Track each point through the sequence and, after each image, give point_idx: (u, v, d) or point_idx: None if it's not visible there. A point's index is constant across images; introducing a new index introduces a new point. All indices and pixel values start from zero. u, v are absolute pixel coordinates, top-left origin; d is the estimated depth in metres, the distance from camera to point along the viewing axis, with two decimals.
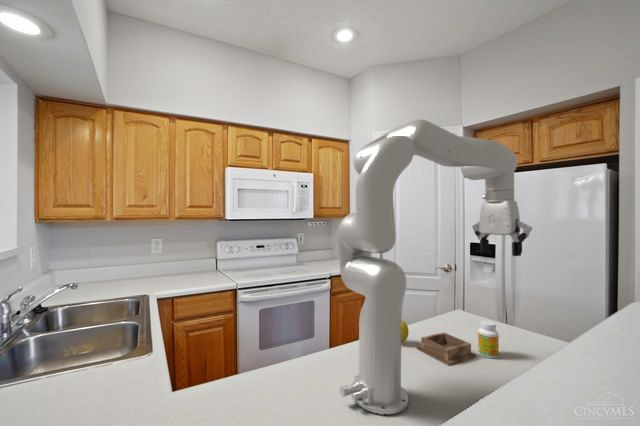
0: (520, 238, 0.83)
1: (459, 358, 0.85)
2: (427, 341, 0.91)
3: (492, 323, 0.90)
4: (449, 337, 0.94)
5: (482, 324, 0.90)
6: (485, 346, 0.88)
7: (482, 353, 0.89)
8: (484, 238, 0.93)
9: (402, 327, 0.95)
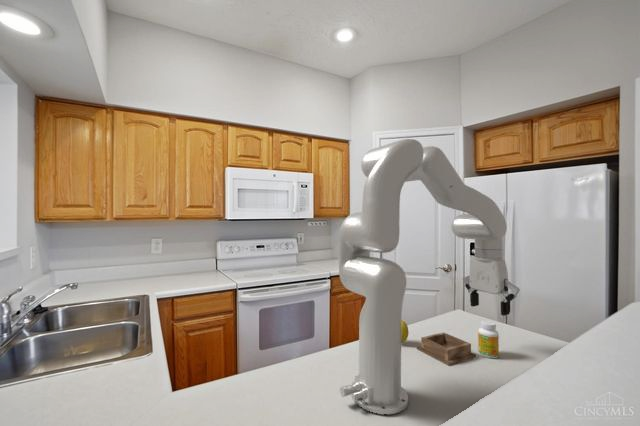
0: (508, 298, 0.85)
1: (459, 358, 0.85)
2: (427, 341, 0.91)
3: (492, 323, 0.90)
4: (449, 337, 0.94)
5: (482, 324, 0.90)
6: (485, 346, 0.88)
7: (482, 353, 0.89)
8: (474, 292, 0.95)
9: (402, 327, 0.95)
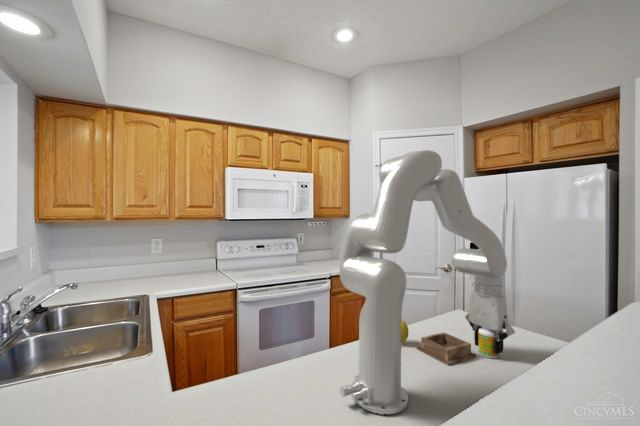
0: (501, 337, 0.86)
1: (459, 358, 0.85)
2: (427, 341, 0.91)
3: None
4: (449, 337, 0.94)
5: None
6: (485, 346, 0.88)
7: (482, 353, 0.89)
8: (478, 331, 0.93)
9: (402, 327, 0.95)
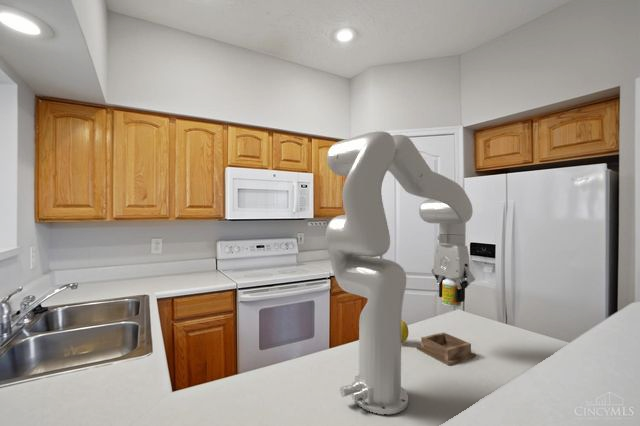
0: (462, 285, 0.86)
1: (459, 358, 0.85)
2: (427, 341, 0.91)
3: None
4: (449, 337, 0.94)
5: None
6: (447, 295, 0.89)
7: (445, 302, 0.90)
8: None
9: (402, 327, 0.95)
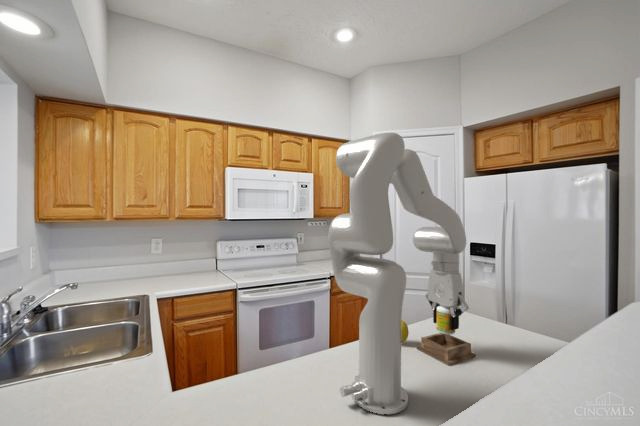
0: (456, 313, 0.87)
1: (459, 358, 0.85)
2: (427, 341, 0.91)
3: None
4: (449, 337, 0.94)
5: None
6: (441, 323, 0.89)
7: (439, 330, 0.90)
8: None
9: (402, 327, 0.95)
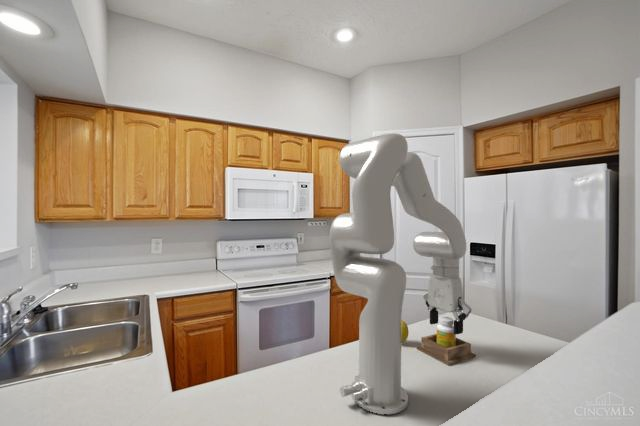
0: (460, 318, 0.85)
1: (459, 358, 0.85)
2: (427, 341, 0.91)
3: (450, 319, 0.90)
4: None
5: (440, 320, 0.90)
6: (442, 342, 0.89)
7: None
8: (433, 310, 0.95)
9: (402, 327, 0.95)
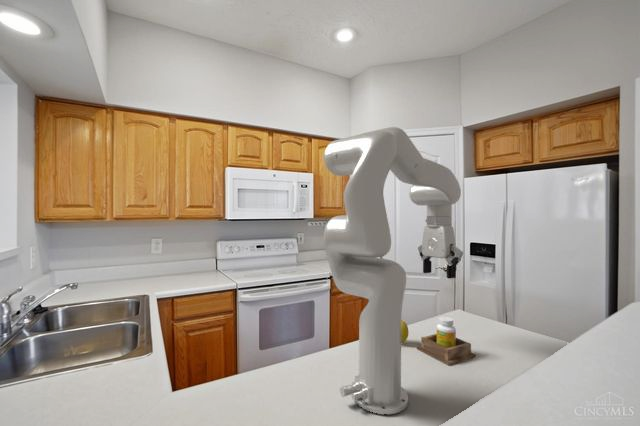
0: (453, 262, 0.89)
1: (459, 358, 0.85)
2: (427, 341, 0.91)
3: (450, 319, 0.90)
4: None
5: (440, 320, 0.90)
6: (442, 342, 0.89)
7: None
8: (427, 259, 0.99)
9: (402, 327, 0.95)
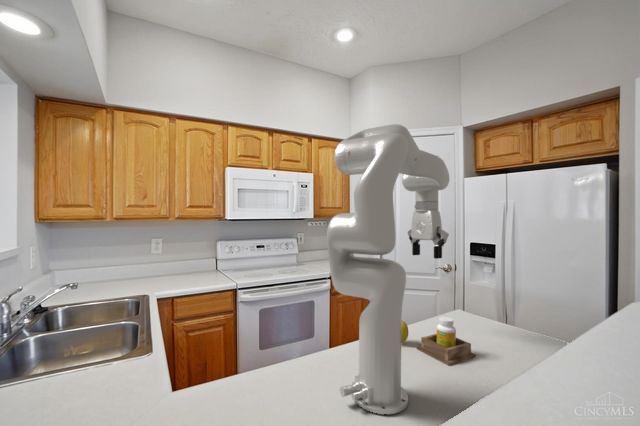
0: (439, 243, 0.96)
1: (459, 358, 0.85)
2: (427, 341, 0.91)
3: (450, 319, 0.90)
4: None
5: (440, 320, 0.90)
6: (442, 342, 0.89)
7: None
8: (416, 242, 1.06)
9: (402, 327, 0.95)
